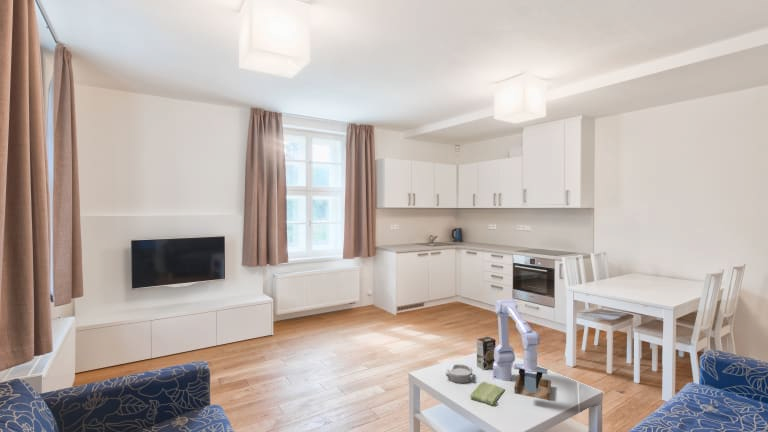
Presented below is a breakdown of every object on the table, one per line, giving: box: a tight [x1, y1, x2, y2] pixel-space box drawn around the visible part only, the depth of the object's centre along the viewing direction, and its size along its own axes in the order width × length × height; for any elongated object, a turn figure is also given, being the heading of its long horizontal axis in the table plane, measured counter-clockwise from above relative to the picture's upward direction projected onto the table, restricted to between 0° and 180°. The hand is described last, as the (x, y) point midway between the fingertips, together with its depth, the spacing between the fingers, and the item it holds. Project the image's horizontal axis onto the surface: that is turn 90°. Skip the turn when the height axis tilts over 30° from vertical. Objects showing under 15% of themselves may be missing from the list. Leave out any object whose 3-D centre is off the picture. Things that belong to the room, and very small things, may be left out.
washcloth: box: [470, 381, 506, 407], centre depth 186 cm, size 13×18×3 cm
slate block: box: [525, 371, 537, 393], centre depth 176 cm, size 5×5×7 cm
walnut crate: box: [514, 374, 552, 401], centre depth 188 cm, size 16×14×4 cm
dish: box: [445, 363, 474, 384], centre depth 204 cm, size 14×14×5 cm
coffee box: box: [476, 336, 496, 371], centre depth 218 cm, size 9×6×16 cm
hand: (530, 386), depth 176 cm, fingers closed on slate block, 5 cm apart
